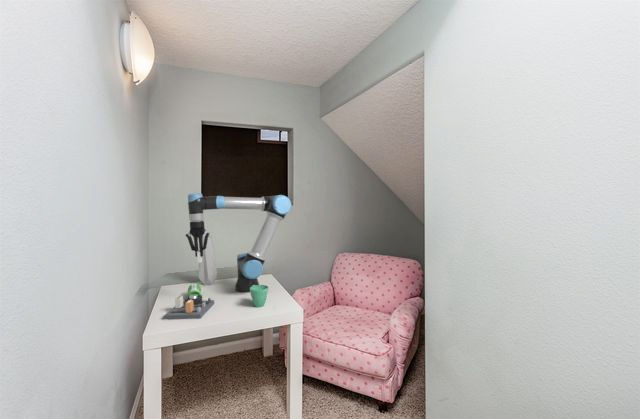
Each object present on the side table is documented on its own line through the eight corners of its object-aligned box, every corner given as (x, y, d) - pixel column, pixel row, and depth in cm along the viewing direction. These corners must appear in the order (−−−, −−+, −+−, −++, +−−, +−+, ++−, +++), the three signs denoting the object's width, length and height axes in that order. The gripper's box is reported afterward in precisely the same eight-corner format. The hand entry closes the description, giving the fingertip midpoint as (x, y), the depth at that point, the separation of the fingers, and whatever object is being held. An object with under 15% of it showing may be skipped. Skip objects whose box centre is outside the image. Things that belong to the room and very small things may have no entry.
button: (199, 300, 171) (199, 293, 171) (196, 302, 167) (196, 296, 167) (191, 300, 171) (191, 294, 171) (188, 303, 167) (187, 296, 167)
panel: (214, 303, 173) (213, 294, 173) (200, 318, 152) (200, 308, 152) (181, 304, 172) (181, 295, 172) (163, 319, 151) (163, 309, 151)
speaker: (201, 302, 175) (201, 289, 175) (187, 304, 173) (187, 291, 172) (200, 293, 192) (200, 281, 191) (188, 295, 189) (187, 283, 189)
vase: (221, 281, 218) (219, 235, 217) (211, 286, 207) (209, 237, 205) (205, 280, 221) (204, 235, 219) (195, 285, 210) (193, 237, 208)
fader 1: (183, 305, 164) (182, 295, 164) (180, 308, 160) (179, 298, 160) (178, 305, 164) (178, 295, 164) (175, 308, 160) (175, 298, 160)
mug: (271, 306, 166) (271, 288, 166) (254, 310, 161) (253, 291, 161) (261, 299, 179) (260, 282, 178) (244, 302, 173) (244, 285, 173)
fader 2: (193, 309, 158) (193, 299, 157) (190, 312, 154) (190, 302, 153) (189, 309, 158) (188, 299, 157) (185, 312, 154) (185, 302, 153)
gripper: (210, 219, 177) (213, 260, 179) (187, 221, 176) (190, 261, 178) (206, 220, 170) (209, 263, 171) (182, 222, 169) (185, 264, 170)
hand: (199, 262), depth 175 cm, fingers closed
